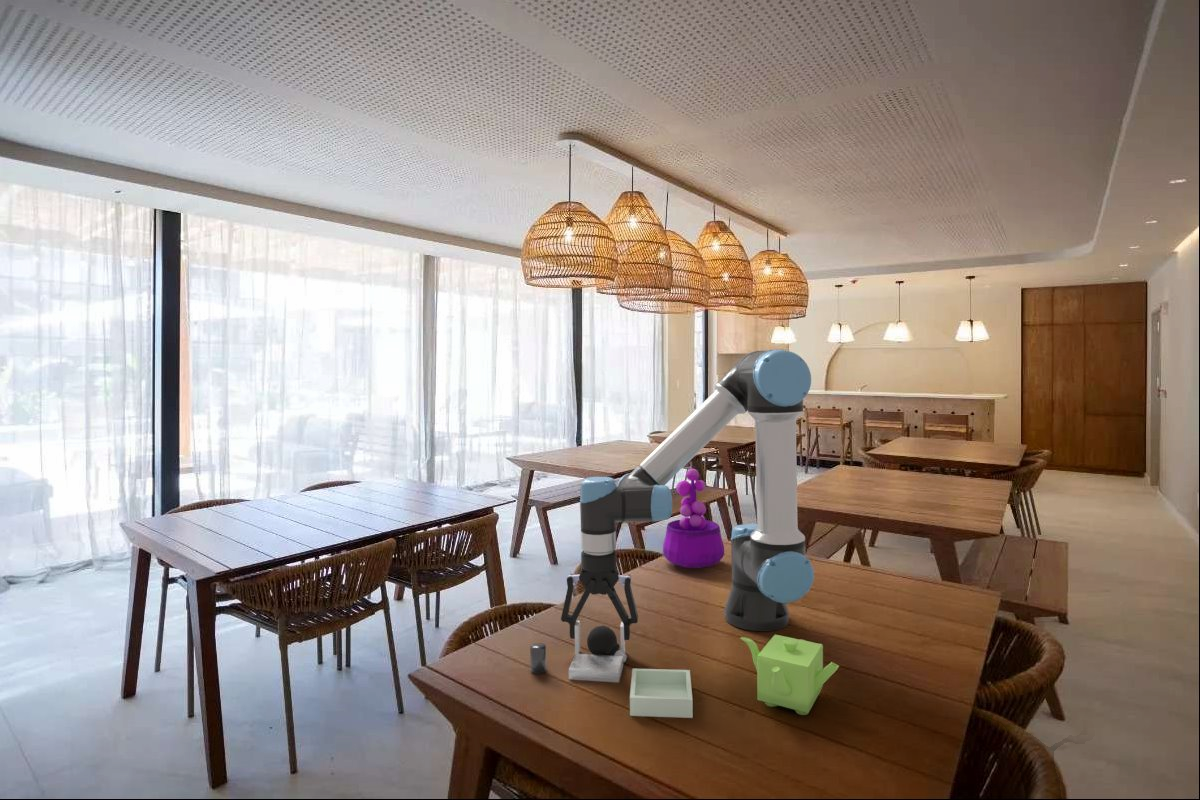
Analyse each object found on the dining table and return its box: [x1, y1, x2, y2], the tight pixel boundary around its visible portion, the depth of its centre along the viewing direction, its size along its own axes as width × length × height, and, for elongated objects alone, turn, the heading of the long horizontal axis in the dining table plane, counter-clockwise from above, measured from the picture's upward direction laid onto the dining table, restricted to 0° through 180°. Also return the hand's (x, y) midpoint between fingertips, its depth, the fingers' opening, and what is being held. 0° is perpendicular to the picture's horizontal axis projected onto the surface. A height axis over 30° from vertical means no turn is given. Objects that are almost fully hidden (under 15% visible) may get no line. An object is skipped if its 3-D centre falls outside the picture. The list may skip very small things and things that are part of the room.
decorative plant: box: [662, 468, 725, 569], centre depth 198 cm, size 19×18×30 cm
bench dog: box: [529, 642, 547, 675], centre depth 132 cm, size 3×3×5 cm
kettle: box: [740, 634, 840, 716], centre depth 118 cm, size 15×14×11 cm
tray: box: [629, 668, 694, 719], centre depth 119 cm, size 11×11×3 cm
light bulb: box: [586, 625, 628, 664], centre depth 137 cm, size 6×6×10 cm
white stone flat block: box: [568, 653, 624, 683], centre depth 131 cm, size 10×7×2 cm
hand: (600, 653), depth 139 cm, fingers open, 9 cm apart
